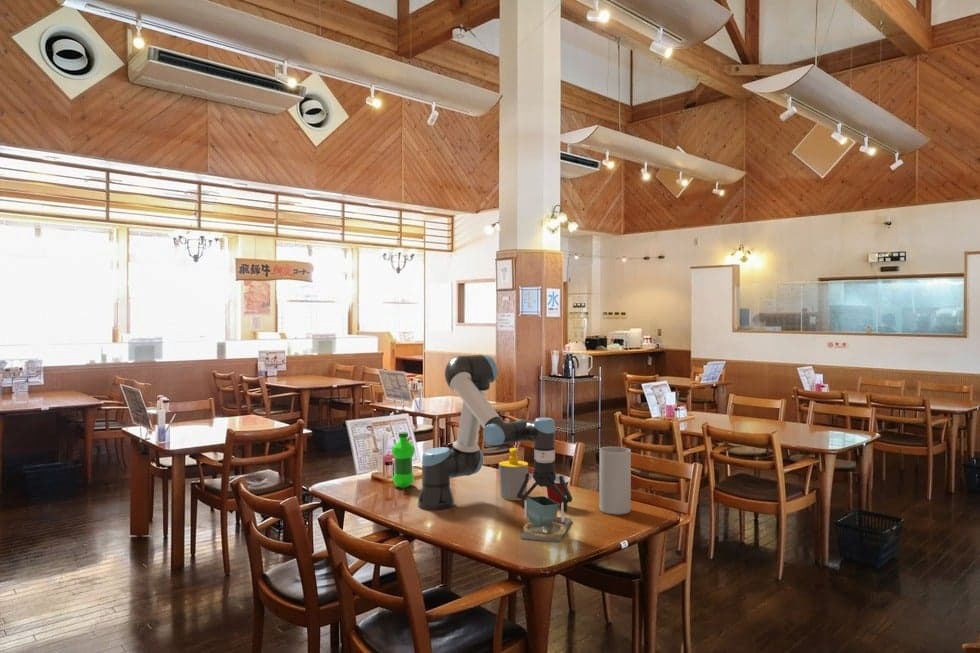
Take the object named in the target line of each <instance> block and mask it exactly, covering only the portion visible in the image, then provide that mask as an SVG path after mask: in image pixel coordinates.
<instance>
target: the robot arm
mask: <svg viewBox="0 0 980 653" xmlns="http://www.w3.org/2000/svg"><path fill="white" fill-rule="evenodd" d="M498 374H499V372H498V366H497V363H496V361H495V359H494V358H493V357H492V356H491V355H485V354H474V355H471V354H470V355H457V356H454V357H453V358H451V359H450V360H449V361H448V362H447V364H446V366H445V369H444V377H445V382H446V384H447V386H448V388H450V390H451V391H453V392H456V394H457V395H458V396H459V397H460V399H461V400H462V406H461V413H460V418H459V424H458V433H457V436H456V437H457V438H456V440H454V442H453V443H452V447H451V449H450V448H449V447H445V446H444V447H443V446H441V447H433V448H429V449H427V450H426V451H424V452H423V453H422V460H421V464H422V465H421V466H422V467H421V470H422V473H421V475H422V476H421V477H422V480H421V482H422V483H421V485H422V486H421V490H420V493H419V496H418V499H417V503H418V504H417V506H418V507H419V508H420V509H424V510H429V511H430V510H431V511H433V510H434V511H440V510H441V511H442V510H446V509H451V508H453V507H454V506H455V498H454V495H453V492H452V488H451V479H452V478H458V477H459V478H460V477H464V476H465V477H468V476H472V475H475V474H477V473H478V472H480V470H481V469H482V466H483V463H484V457H483V451H482V450H481V449H480V446H479V444H478V437H479V431H480V426H481V427H482V428H483V430H482V437H483V438H484V439H483V440H484V442H485V443H486V444H487V445H488V446H500V445H505V444H513V443H520V442H530V443H534V447H533V452H534V453H533V454H534V455H533V456H534V457H533V459H534V462H533V464H534V466H533V467H534V468H533V473H531V472H529V471H528V473H527V474H526V475H525V481H524V483H523V485H522V487H521V489H520V491H519V492H518V494H517V498H520V499H521V500H520V501H521V508H522V509H523V510H524V516H523V517H524V519H528V515H527V498H528V497H529V495H530V494H531V493H532V492H533V490H535V488H536V487H537V486H538V487H543V488H544V487H545V488H547V487H549V486H550V487H551V488H552V489H553V490H554V491H555V492H556V494H557V495H558V496H559V498H560V499H561V500H562V501H563V502H562V503H561V507H560V508H561V509H560V517H561V522H563V521H564V520H565V518H566V517H565V514H566V513H567V511H568V503H571V502H573V497H572V494H571V491H570V490H569V488H568V485H567V486H566V483H565V481H564V476H565V475H563V474H562V473H561V474H556V462H555V460H556V442H555V441H556V425H555V424H556V423H555V420H554V419H553V418H551V417H544V416H543V417H536V418H535V419H534V420H528V419H525V418H523V419H522V418H519V419H516V420H515V421H510V422H505V421H504V420H503V419H502V418H501V416H500V415H499V413H498V412H497V411H496V409H495V408H494V407H493V406H492V404H491V403H490V402H489V401H488V400H487V398H486V397H485V394H486V392H488V391H489V390H490V386H491V383H494V382H495V381H496V380H497V379H498ZM532 478H533V480H534V481H535V482H534V483H533V484H532V485H531V487H530V488H529V489H527V492H526V493H525V494H524V495H522V493H523V491H524V489H525V487H526V485H527V486H528V484H529V482H530V480H531V479H532ZM555 479H557V480H558V481H559V482H560V484H561V486H562V489H563V491H564V493H565V496H564V494H563V493H562V492H561V491H560V489H559V488H558V487H557V485H556V483H555V482H554V481H555Z"/></svg>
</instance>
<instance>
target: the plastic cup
mask: <svg viewBox="0 0 980 653" xmlns="http://www.w3.org/2000/svg"><path fill="white" fill-rule="evenodd" d="M564 481H565V483H566V486H567V487H568V484H569V482H570V481H571V479H570V478H569V477H568V476H565V475H564ZM554 482H555V483H556V485H557V487H558V488H559V489H560V491H561V492H562V493H563V494H564V496H565V497H566V495H565V493H564V491H563V489H562V486H561V484H560V482H559V481H558V480H557V479H555V481H554ZM546 494H547V498H549V499H551V500H553V501H555V502H557V503H559V504H560V505H559V508H558V509H560V508H561V503H562V502H563V501H562V500H561V499H560V498H559V496H558V495H557V494H556V492H555V491H554V490H553V489H552V488H551V487H550V486H549V487H546Z"/></svg>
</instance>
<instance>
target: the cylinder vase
mask: <svg viewBox="0 0 980 653" xmlns="http://www.w3.org/2000/svg"><path fill="white" fill-rule="evenodd" d="M631 450H632V449H630V448H629V447H628V448H627V447H622V446H603V447H599V491H598V492H599V494H598V495H599V500H598V501H599V508H598V509H599V511H600V512H602V513H605V514H609V515H613V516H614V515H618V516H619V515H626V514H629V513H630V512H631V507H632V506H631V504H632V503H631V498H632V497H631V496H632V494H631V491H632V489H631V488H632V487H631V486H632V484H631V483H632V478H631V477H632V474H631V473H632V472H631V468H632V467H631V464H632V462H631V461H632V459H631V457H632V453H631V452H632V451H631Z"/></svg>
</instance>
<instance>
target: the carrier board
mask: <svg viewBox="0 0 980 653" xmlns="http://www.w3.org/2000/svg"><path fill="white" fill-rule="evenodd" d="M571 522H572V518H571V517H565V520H564V521H563V522H561V516H558V513H557V514H556V517H555V519H554V520H553V522H552V523H551V524H550V525H549V526H543V527H538V526H536V525H535V524H533V523H531V522H530V521H529V522H528V523H527V522H526V523H525V524H524V526H523V527H522V530H523V531H522V533H521V534H520V539H521V540H528V541H529V540H530V541H531V540H532V541H538V542H539V541H541V542H550V543H561V541H562V539H563V538H564V535H565V533H566V532H567V530H568V528H569V526H570V524H571Z"/></svg>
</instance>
